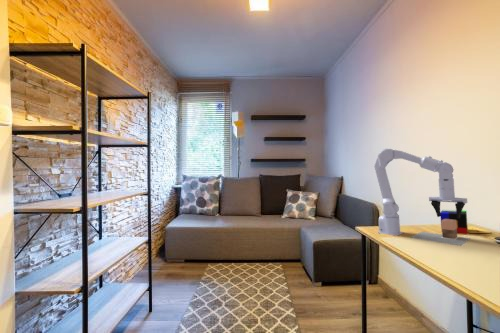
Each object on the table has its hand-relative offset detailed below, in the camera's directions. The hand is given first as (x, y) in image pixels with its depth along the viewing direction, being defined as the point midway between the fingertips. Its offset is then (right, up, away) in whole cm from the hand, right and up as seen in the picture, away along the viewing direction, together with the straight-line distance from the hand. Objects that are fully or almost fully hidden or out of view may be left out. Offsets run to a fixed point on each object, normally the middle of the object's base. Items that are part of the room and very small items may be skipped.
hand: (448, 217), depth 125 cm
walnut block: (+1, -9, 0) cm, 9 cm away
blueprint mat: (-4, -10, 0) cm, 11 cm away
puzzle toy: (+11, -9, +10) cm, 17 cm away
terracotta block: (0, -5, 0) cm, 5 cm away
